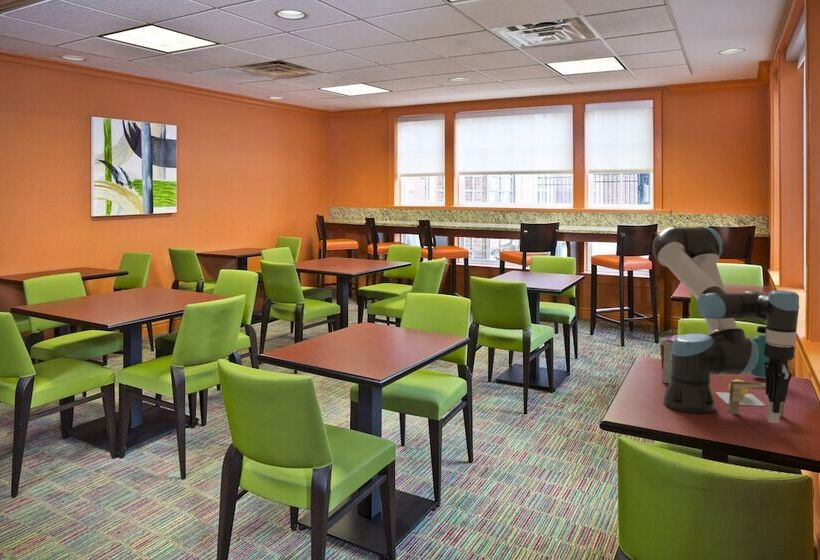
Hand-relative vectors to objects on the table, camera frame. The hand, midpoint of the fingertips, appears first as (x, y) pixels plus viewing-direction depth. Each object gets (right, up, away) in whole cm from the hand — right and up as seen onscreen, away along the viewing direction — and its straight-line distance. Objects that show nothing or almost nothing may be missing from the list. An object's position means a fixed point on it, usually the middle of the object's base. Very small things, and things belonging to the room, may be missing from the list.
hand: (772, 421), depth 180 cm
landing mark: (+5, +1, +27) cm, 27 cm away
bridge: (+2, 0, +13) cm, 13 cm away
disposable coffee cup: (-3, +6, +63) cm, 64 cm away
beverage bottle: (+25, +4, +50) cm, 56 cm away
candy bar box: (-9, +4, +47) cm, 48 cm away
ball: (+5, +5, +29) cm, 30 cm away
